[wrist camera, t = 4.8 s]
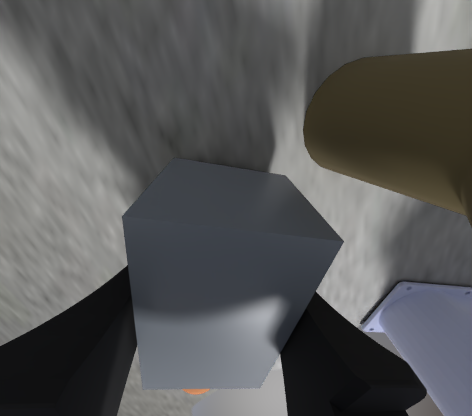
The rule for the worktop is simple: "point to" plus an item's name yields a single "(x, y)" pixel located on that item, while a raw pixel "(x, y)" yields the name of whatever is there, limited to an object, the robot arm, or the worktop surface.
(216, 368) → the grey rectangular block
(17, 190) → the worktop surface
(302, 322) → the robot arm
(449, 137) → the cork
